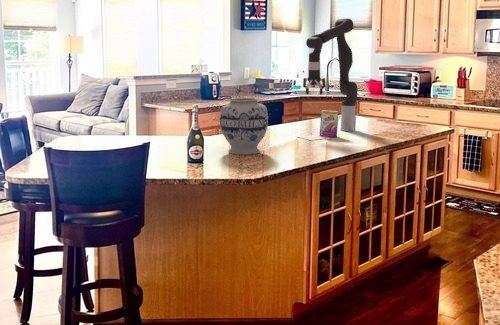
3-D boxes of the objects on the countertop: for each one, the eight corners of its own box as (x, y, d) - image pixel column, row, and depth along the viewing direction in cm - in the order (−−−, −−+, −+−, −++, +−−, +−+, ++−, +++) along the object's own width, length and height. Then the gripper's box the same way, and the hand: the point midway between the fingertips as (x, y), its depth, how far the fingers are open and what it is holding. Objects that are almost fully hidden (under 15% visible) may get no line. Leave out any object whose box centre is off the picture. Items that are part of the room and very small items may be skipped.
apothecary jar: (211, 154, 349) (211, 99, 342) (232, 146, 372) (232, 95, 366) (256, 158, 338) (256, 102, 332) (274, 149, 362) (275, 97, 356)
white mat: (316, 135, 413) (316, 134, 413) (330, 138, 401) (330, 137, 401) (297, 137, 404) (297, 136, 404) (310, 140, 393) (310, 139, 393)
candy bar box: (319, 136, 406) (321, 110, 403) (319, 135, 410) (321, 110, 407) (337, 137, 405) (338, 111, 402) (336, 136, 409) (338, 111, 406)
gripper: (326, 68, 403) (326, 93, 406) (305, 68, 408) (305, 93, 411) (323, 69, 396) (323, 95, 400) (301, 69, 401) (301, 94, 404)
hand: (314, 94), depth 405 cm, fingers open, 8 cm apart
